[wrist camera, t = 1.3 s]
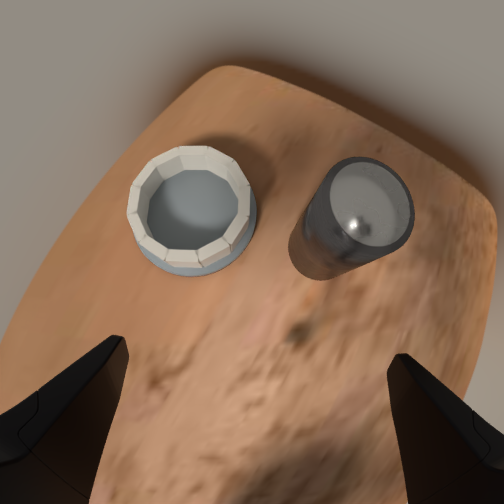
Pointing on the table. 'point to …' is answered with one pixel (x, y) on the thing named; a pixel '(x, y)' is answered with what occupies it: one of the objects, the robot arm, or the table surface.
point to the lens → (352, 219)
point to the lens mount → (192, 211)
